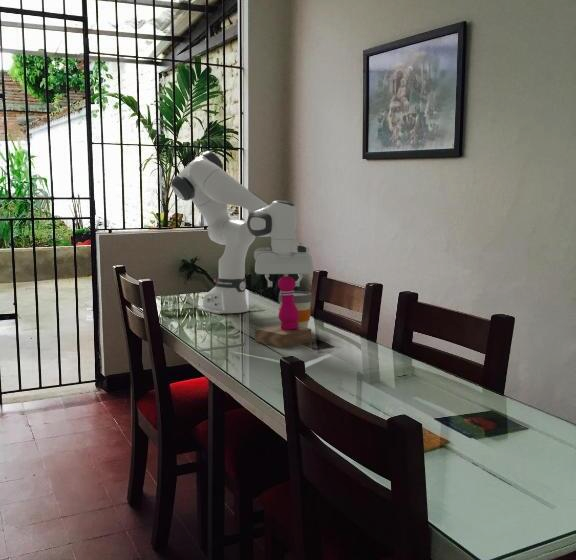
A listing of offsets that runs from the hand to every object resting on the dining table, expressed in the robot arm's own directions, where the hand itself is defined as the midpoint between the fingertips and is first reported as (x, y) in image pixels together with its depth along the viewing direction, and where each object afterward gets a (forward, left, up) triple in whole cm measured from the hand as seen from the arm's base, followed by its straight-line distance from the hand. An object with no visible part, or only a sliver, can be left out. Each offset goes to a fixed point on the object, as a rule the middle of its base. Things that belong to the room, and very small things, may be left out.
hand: (283, 286), depth 227 cm
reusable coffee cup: (-5, +15, -20) cm, 25 cm away
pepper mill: (+2, +2, -15) cm, 15 cm away
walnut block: (0, 0, -20) cm, 20 cm away
